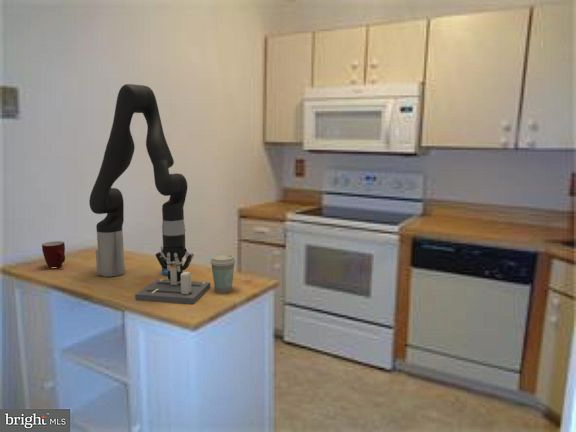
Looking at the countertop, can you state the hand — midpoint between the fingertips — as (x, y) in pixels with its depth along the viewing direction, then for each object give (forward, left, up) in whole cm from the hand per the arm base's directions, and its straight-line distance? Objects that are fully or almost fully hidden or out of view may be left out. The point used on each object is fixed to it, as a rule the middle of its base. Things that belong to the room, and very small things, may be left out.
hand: (175, 280), depth 155 cm
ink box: (-10, +19, -4) cm, 22 cm away
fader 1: (0, 0, -1) cm, 1 cm away
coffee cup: (+16, +3, -3) cm, 17 cm away
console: (+1, -4, -3) cm, 5 cm away
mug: (-58, +16, -3) cm, 60 cm away
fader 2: (+7, -8, -1) cm, 11 cm away
